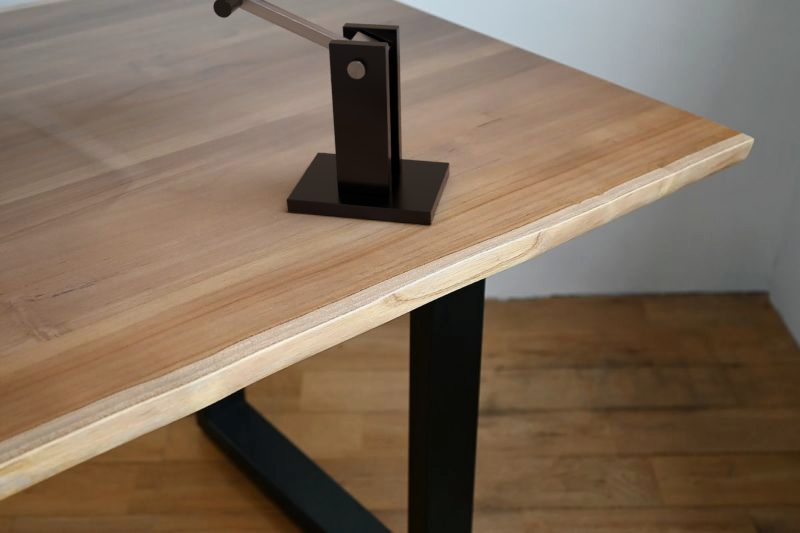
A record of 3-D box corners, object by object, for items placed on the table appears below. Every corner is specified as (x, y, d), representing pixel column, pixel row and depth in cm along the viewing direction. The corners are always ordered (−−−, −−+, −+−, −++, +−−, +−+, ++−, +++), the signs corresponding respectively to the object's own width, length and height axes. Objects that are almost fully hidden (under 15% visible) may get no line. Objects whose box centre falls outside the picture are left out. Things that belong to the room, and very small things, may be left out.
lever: (209, 18, 69) (217, -11, 67) (237, -5, 74) (245, -32, 72) (367, 91, 69) (378, 64, 68) (385, 64, 74) (395, 38, 73)
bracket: (287, 212, 75) (271, 49, 67) (318, 164, 82) (307, 12, 75) (430, 225, 73) (430, 58, 65) (449, 174, 80) (451, 19, 72)
